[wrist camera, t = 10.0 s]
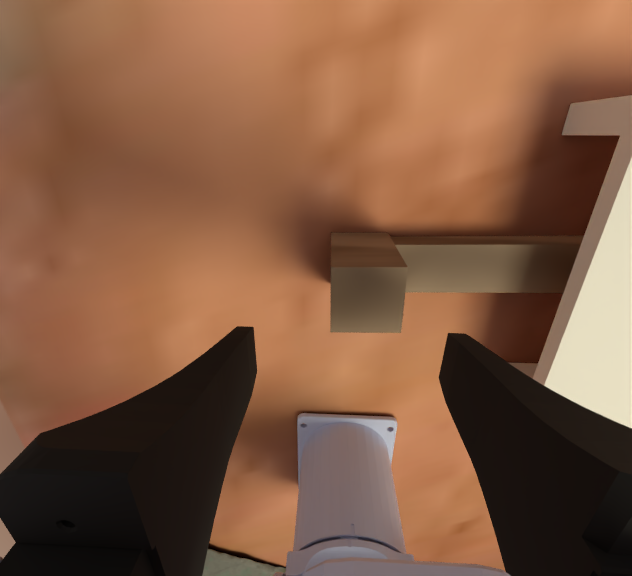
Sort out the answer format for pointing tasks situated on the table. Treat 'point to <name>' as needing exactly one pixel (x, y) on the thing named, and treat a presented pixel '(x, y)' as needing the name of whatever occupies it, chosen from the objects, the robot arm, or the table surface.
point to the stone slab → (236, 566)
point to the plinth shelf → (597, 283)
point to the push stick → (436, 271)
